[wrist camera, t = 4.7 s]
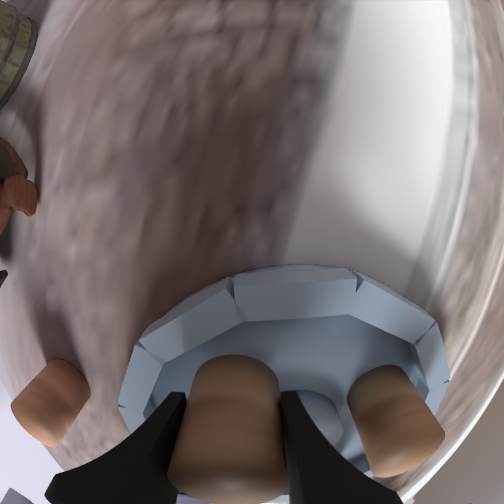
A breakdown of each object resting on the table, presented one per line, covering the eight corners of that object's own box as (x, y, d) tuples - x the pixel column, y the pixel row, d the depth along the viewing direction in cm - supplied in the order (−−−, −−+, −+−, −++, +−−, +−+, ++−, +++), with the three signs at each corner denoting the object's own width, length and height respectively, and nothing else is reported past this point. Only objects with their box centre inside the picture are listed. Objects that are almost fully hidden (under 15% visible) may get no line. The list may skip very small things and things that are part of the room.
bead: (397, 405, 15) (428, 463, 9) (342, 417, 15) (363, 484, 9) (412, 359, 14) (456, 418, 8) (351, 370, 14) (384, 443, 8)
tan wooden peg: (276, 415, 12) (283, 505, 7) (198, 412, 13) (178, 500, 7) (281, 354, 12) (295, 458, 6) (189, 352, 12) (155, 449, 6)
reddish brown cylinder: (98, 404, 16) (68, 453, 11) (61, 396, 16) (30, 438, 11) (78, 361, 15) (37, 409, 10) (41, 356, 15) (1, 395, 10)
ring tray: (390, 460, 18) (397, 479, 16) (174, 476, 18) (169, 496, 16) (454, 253, 13) (480, 265, 11) (101, 272, 14) (76, 288, 11)
